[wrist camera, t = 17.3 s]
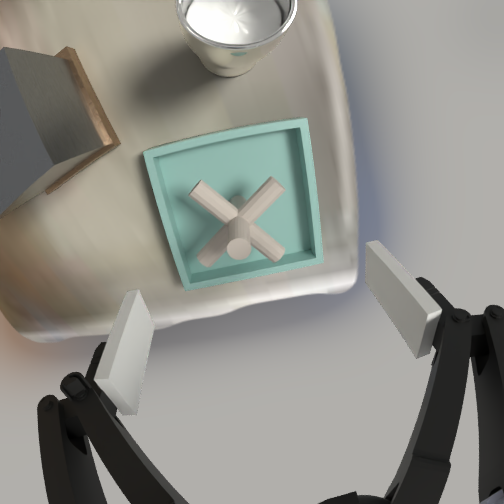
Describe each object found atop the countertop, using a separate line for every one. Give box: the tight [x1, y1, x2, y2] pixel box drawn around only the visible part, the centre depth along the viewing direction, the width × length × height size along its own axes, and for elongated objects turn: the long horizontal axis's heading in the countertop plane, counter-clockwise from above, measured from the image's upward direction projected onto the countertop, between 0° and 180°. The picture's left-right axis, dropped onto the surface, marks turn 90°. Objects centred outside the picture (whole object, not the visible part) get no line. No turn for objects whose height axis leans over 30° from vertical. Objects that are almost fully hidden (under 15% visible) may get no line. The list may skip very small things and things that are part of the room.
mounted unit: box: [0, 47, 121, 219], centre depth 20 cm, size 13×10×13 cm
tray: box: [143, 117, 323, 291], centre depth 31 cm, size 16×16×3 cm
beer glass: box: [175, 0, 298, 77], centre depth 18 cm, size 7×7×15 cm
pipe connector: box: [188, 176, 286, 267], centre depth 27 cm, size 10×10×10 cm
